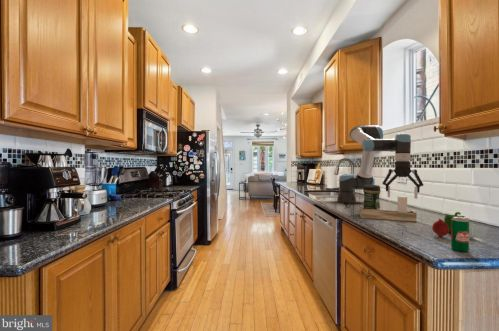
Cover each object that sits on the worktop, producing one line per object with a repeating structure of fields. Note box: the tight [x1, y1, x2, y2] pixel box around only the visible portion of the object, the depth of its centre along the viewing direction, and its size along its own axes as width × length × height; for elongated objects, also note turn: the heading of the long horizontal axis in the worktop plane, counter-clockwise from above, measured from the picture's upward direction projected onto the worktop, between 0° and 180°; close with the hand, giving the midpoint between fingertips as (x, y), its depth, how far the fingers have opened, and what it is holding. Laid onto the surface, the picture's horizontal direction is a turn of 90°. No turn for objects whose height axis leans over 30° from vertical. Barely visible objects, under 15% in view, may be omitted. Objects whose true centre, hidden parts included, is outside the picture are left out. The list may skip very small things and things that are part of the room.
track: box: [359, 206, 418, 222], centre depth 146 cm, size 10×28×5 cm, turn 71°
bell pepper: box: [443, 211, 465, 234], centre depth 114 cm, size 8×8×10 cm
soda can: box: [450, 215, 470, 253], centre depth 91 cm, size 5×5×12 cm
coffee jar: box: [362, 184, 381, 210], centre depth 159 cm, size 10×8×19 cm
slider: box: [396, 195, 408, 213], centre depth 143 cm, size 4×4×10 cm
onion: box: [432, 218, 450, 238], centre depth 108 cm, size 6×6×8 cm
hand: (402, 197), depth 144 cm, fingers open, 13 cm apart
